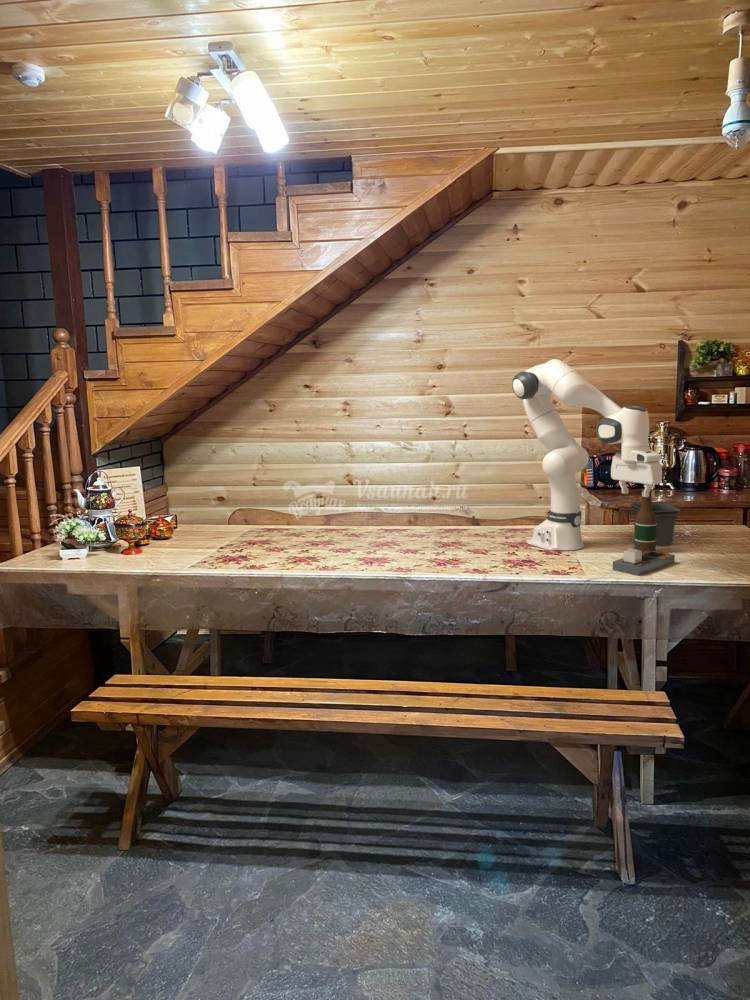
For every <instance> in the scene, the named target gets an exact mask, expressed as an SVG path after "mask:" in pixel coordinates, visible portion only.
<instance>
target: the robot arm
mask: <svg viewBox="0 0 750 1000" xmlns="http://www.w3.org/2000/svg"><path fill="white" fill-rule="evenodd" d="M511 385H512V386H511V388H512V392H513V393H514V395H515V397H517V398H519V399H520V400H522V404H523V407H524V411H525V414H526V416H527V419H528V421H529V423H530V426H531V427H532V430H533V431H534V433H535V436H536V438H537V439H538V441H539V442H540V443H541V444H542V445H544V446H545V448H547V449H548V450H549V452H548V453H546V455H545V456H544V457H543V458H542V459H543V460H542V461H541V462H542V463H541V466H542V470H543V472H544V473H545V474H546V476H547V480H548V485H549V490H550V510H548V511H545V512H544V515H545V516H546V517H547V518H546V519H544V520H543V521H542V522H541V523H539V524H538V525H537V526H535V527H534V529H533V532H532V537H531V538H529V539H527V541H526V544H529V545H531V546H535V547H538V548H542V549H544V550H547V551H574V550H580V549H584V547H585V545H584V541H583V537H582V529H581V522H582V511H581V490H580V488H579V487H578V484H577V480H576V474H577V473H580V472H582V470H584V469H585V468H586V467H587V466H588V463H589V460H590V459H589V458H590V457H589V453H588V451H587V450H586V449H585V448H584V447H582V446H581V445H580V444H579V443H578V442H577V440H576V439H575V438H574V436H573V435H572V434H571V433H570V431H568V428H567V427H566V425H565V423H564V421H563V420H562V418H561V416H560V413H559V412H558V410H557V408H556V406H555V405H554V402H553V400H552V394H554V396H555V397H556V398H557V399H558V400H559V401H561V402H562V403H563V404H566V405H567V406H571V407H580V408H586V409H587V408H588V409H591V410H594V411H596V412H598V413H599V414H600V415H602V416H603V417H602V418H601V419H599V421H598V422H597V423H596V427H595V433H596V437H597V439H598V440H599V441H600V442H601V443H603V444H605V445H614V444H621V446H620V447H621V451H620V452H616V453H615V454H614V455H613V456H612V462H611V468H610V477H611V479H612V480H615V481H618V484H619V486H620V488H621V494H622V495H623V494H624V495H628V494H629V490H630V489H629V488H628V487H627V482H630V483H636V484H643V487H644V488H645V490H644V491H643V492H642V491H641V498H642V497H649V492H650V490H651V489H652V488H653V486H654V485H660V484H661V482H662V479H663V477H662V476H663V475H662V474H663V471H662V468H663V467H662V464H661V462H660V461H661V460H662V454H661V453H658V452H657V451H655V450H653V449H651V448H650V442H649V435H650V418H649V417H650V416H649V412H648V410H647V409H646V408H645V407H644V406H639V405H625V406H623V407H622V405H620V404H619V403H618V402H616V401H615V400H614V399H612V398H611V397H610V396H608V394H606V393H605V392H603V391H601V390H600V389H599V388H597V387H595V386H594V385H593V384H591V383H590V382H589V381H587V379H585V378H584V377H583V376H582V375H580V374H579V373H578V371H576V370H575V369H574V368H573V367H572V366H570V365H569V364H567V363H565V362H564V361H563V360H561V359H558V358H553V359H550V360H548V361H546V362H544V363H540V364H537V365H534V366H533V367H529V369H526V370H523V371H520V372H518V373H517V374H515V375H514V376H513V379H512V381H511Z"/></svg>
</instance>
